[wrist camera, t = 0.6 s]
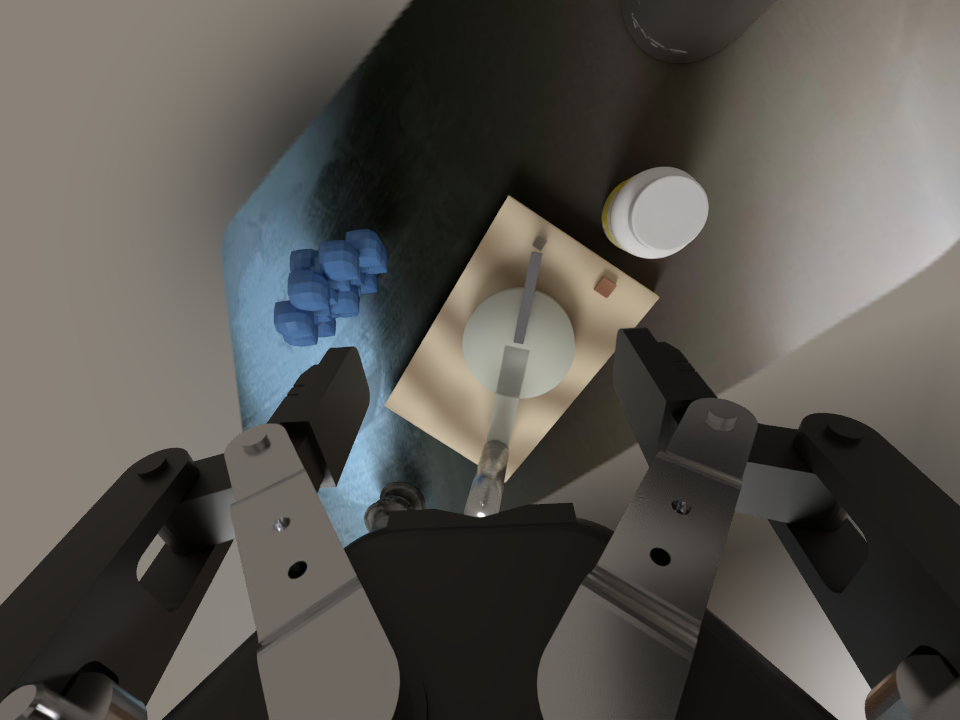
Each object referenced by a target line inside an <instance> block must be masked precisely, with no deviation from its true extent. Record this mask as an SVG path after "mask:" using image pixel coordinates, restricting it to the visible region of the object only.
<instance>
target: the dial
mask: <svg viewBox="0 0 960 720" xmlns="http://www.w3.org/2000/svg"><path fill="white" fill-rule="evenodd" d="M542 254H543V253H537V252H531V257H530V262H529V267H528V272H527V277H526V282H525V286H524V287H513V288H507V289H503V290H500V291H498V292H496V293H494V294H492V295H490V296H489V297H487V298H486V299H485V300H484V301H483V302H482V303H481V304H480V305H479V306H478V307H477V308H476V310H475V311H474V312H473V314H472V315H471V316H470V318H469V320H468V322H467V324H466V327H465V329H464V334H463V341H462V346H463V354H464V358H465V361H466V364H467V366H468V368H469V370H470V372H471V373H472V375H473V376H474V377H475V378H476V380H477V381H478V382H479V383H480V384H482V385H483V386H484V387H485V388H487V389H488V390H490V391H492V392H494V393H496V395H495V400H494V405H493V411H492V416H491V421H490V426H489V431H488V436H487V441H486V444H485V445H484V447H483V450H482V453H481V456H480V460H479V463H478V466H477V470H476V473H475V477H474V480H473V483H472V487H471V490H470V493H469V497H468V500H467V503H466V507H465V510H464V514H465V515H469V516H474V517H484V516H488V515H492V514H495V513H499V508H500V502H501V497H502V491H503V486H504V480H505V475H506V469H507V464H508V458H509V448H508V447H509V443H510V438H511V433H512V429H513V424H514V420H515V415H516V411H517V406H518V402H519V399H524V398H532V397H536V396H539V395H542V394H544V393H546V392H548V391H550V390H551V389H553V388H554V387H556V386H557V385H558V384H559V383H560V382H561V381H562V380H563V379H564V378H565V376H566V375H567V373H568V372H569V370H570V368H571V365H572V362H573V360H574V354H575V338H574V332H573V327H572V324H571V321H570V318H569V316H568V315H567V313H566V311H565V310H564V309H563V307H562V306H561V305H560V304H559V303H558V302H557V301H556V300H555V299H553V298H552V297H551V296H549V295H547V294H546V293H544V292H541V291H539V290H536V289H535V287H536V282H537V277H538V273H539V268H540V263H541V258H542Z"/></svg>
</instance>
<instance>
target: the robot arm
mask: <svg viewBox="0 0 960 720" xmlns="http://www.w3.org/2000/svg"><path fill="white" fill-rule="evenodd" d="M776 1H777V0H620V2H621V9H622V16H623V19H624V22H625V24H626V27H627V30H628V32H629V34H630V35H631V37H632V38H633V40H634V41H635V43H636V44H637V45H638V46H639V47H640V48H641V49H642V50H643V51H644V52H646V53H647V54H648V55H650V56H652V57H654V58H656V59H658V60H661V61H665V62H670V63H690V62H694V61H698V60H702V59H705V58H707V57H709V56H711V55H713V54H715V53H717V52H719V51H721V50H722V49H723V48H725V47H726V46H728V45H729V44H730V43H732V42H733V41H734V40H735V39H736V38H738V37H739V36H740V35H741V34H742V33H743V32H744V31H745V30H746V29H747V28H748V27H749V26H750V25H751V24H752V23H753V22H755V21H756V20H757V19H758V18H759V17H760V16H761V15H762V14H763V13H764V12H766V11H767V10H768V9H769V8H770V7H771V6H772V5H773V4H774V3H775V2H776ZM613 385H614V390H615V393H616V395H617V397H618V399H619V402H620V404H621V406H622V408H623V410H624V413H625V415H626V417H627V419H628V421H629V424H630V426H631V428H632V430H633V432H634V435H635V437H636V439H637V441H638V443H639V446H640V448H641V450H642V452H643V454H644V457H645V459H646V461H647V463H648V465H649V469H648V471H647V473H646V475H645V477H644V479H643V480H642V482H641V484H640V486H639V488H638V489H637V491H636V493H635V495H634V497H633V499H632V501H631V502H630V504H629V506H628V508H627V510H626V512H625V513H624V515H623V517H622V519H621V521H620V523H619V525H618V526H617V528H616V530H615V532H614V531H612V530H610V529H608V528H607V527H605V526H602V525H600V524H597V523H595V522H592V521H588V520H585V519H581V518H576V515H575V511H574V506H573V503H557V504H534V505H525V506H521V507H517V508H514V509H510V510H506V511H503V512H499V513H495V514H492V515H488V516H484V517H474V516H469V515H463V514H458V513H453V512H448V511H442V510H437V509H422V510H399V511H390V514H389V519H388V523H387V526H385V527H382V528H379V529H376V530H374V531H371V532H369V533H367V534H365V535H363V536H361V537H360V538H358V539H356V540H355V541H353V542H352V543H350V544H349V545H348V546H346V547H345V548H344V549H343V547H342V544H341V542H340V540H339V538H338V536H337V534H336V532H335V530H334V528H333V526H332V524H331V522H330V520H329V518H328V516H327V513H326V511H325V509H324V507H323V505H322V503H321V501H320V499H319V497H318V495H317V493H318V490H319V488H326V487H336V486H337V484H338V481H339V479H340V476H341V474H342V471H343V469H344V466H345V464H346V461H347V459H348V456H349V454H350V451H351V449H352V446H353V444H354V441H355V439H356V436H357V434H358V431H359V429H360V426H361V424H362V421H363V419H364V416H365V414H366V411H367V409H368V406H369V400H370V393H369V387H368V383H367V380H366V376H365V373H364V369H363V366H362V363H361V359H360V356H359V353H358V350H357V349H356V348H355V347H340V348H330V349H329V350H328V351H327V352H326V354H325V355H324V357H323V358H322V360H321V361H320V363H319V364H318V365H313V366H312V367H311V368H309V369H308V370H307V371H305V372H304V373H303V374H301V375H300V377H299V378H298V380H297V381H296V383H295V384H294V385H293V386H294V387H293V388H291V390H290V391H289V392H288V394H287V397H285V398H284V400H283V401H282V402H281V404H280V405H279V407H278V408H277V410H276V411H275V412H274V414H273V415H272V417H271V418H270V419H269V421H268V422H267V424H263V425H259V426H255V427H253V428H250V429H248V430H246V431H244V432H242V433H241V434H239V435H238V436H236V437H235V438H234V439H233V440H232V441H231V442H230V443H229V444H228V446H227V447H226V449H225V453H224V454H220V455H216V456H212V457H209V458H205V459H201V460H198V461H193V460H192V458H191V457H190V455H189V454H188V452H187V451H186V450H184V449H182V448H169V449H164V450H161V451H158V452H155V453H153V454H150V455H148V456H146V457H144V458H142V459H141V460H139V461H138V462H136V463H135V464H133V465H132V466H131V467H129V468H128V469H127V470H126V471H125V472H124V473H123V474H122V475H121V477H120V478H119V479H118V480H117V481H116V482H115V483H114V484H113V485H112V486H111V487H110V488H109V490H107V492H106V493H105V494H104V495H103V496H102V497H101V498H100V499H99V500H98V501H97V502H96V504H95V505H93V507H92V508H91V509H90V510H89V511H88V512H87V513H86V514H85V515H84V516H83V517H82V518H81V519H80V521H79V522H78V523H77V524H76V525H75V526H74V527H73V528H72V529H71V530H70V531H69V532H68V533H67V535H66V536H65V537H64V538H63V539H62V540H61V541H60V542H59V543H58V544H57V545H56V546H55V547H54V549H53V550H52V551H51V552H50V553H49V554H48V555H47V556H46V557H45V558H44V559H43V560H42V562H40V564H39V565H38V566H37V567H36V568H35V569H34V570H33V571H32V572H31V573H30V574H29V575H28V576H27V578H26V579H25V580H24V581H23V582H22V583H21V584H20V585H19V586H18V587H17V588H16V589H15V590H14V591H13V593H12V594H11V595H10V596H9V597H8V598H7V599H6V600H5V601H4V602H3V603H2V604H1V606H0V720H147V710H146V705H147V703H148V701H149V700H150V698H151V696H152V694H153V692H154V690H155V688H156V686H157V684H158V683H159V681H160V679H161V677H162V675H163V673H164V671H165V669H166V667H167V665H168V664H169V661H170V660H171V658H172V656H173V654H174V652H175V650H176V648H177V646H178V645H179V643H180V641H181V639H182V637H183V635H184V633H185V631H186V629H187V627H188V625H189V624H190V622H191V620H192V618H193V616H194V614H195V612H196V610H197V608H198V607H199V605H200V603H201V601H202V599H203V597H204V595H205V593H206V591H207V590H208V587H209V586H210V584H211V582H212V580H213V578H214V576H215V574H216V572H217V570H218V569H219V567H220V565H221V563H222V561H223V559H224V557H225V555H226V553H227V551H228V550H229V547H230V546H231V544H232V542H233V540H234V539H235V538H236V540H237V545H238V550H239V554H240V558H241V562H242V567H243V572H244V576H245V581H246V585H247V590H248V594H249V598H250V603H251V608H252V612H253V617H254V621H255V626H256V631H255V632H254V633H253V634H252V635H251V636H250V637H249V638H248V639H247V640H246V641H245V642H243V643H242V645H240V646H239V647H238V648H237V649H236V650H235V651H234V652H233V653H232V654H231V655H230V656H229V657H228V658H227V659H225V660H224V661H223V662H222V663H221V664H220V665H219V666H218V667H217V668H216V669H215V670H214V671H213V672H212V673H211V674H210V675H209V676H207V677H206V678H205V679H204V680H203V681H202V682H201V683H200V684H199V685H198V686H197V687H196V688H195V689H194V690H193V691H192V692H191V693H189V694H188V695H187V696H186V697H185V698H184V699H183V700H182V701H181V702H180V703H179V704H178V705H177V706H176V707H175V708H174V709H173V710H171V712H169V713H168V714H167V715H166V716H165V717H164V718H163V719H162V720H838V719H837V718H835V717H834V716H833V715H832V714H831V713H830V712H828V711H827V710H826V709H825V708H824V707H822V706H821V705H820V704H819V703H818V702H817V701H815V700H814V699H813V698H812V697H811V696H810V695H808V694H807V693H806V692H805V691H804V690H803V689H801V688H800V687H799V686H798V685H797V684H795V683H794V682H793V681H792V680H791V679H790V678H789V677H787V676H786V675H785V674H784V673H783V672H781V671H780V670H779V669H778V668H777V667H775V666H774V665H773V664H772V663H771V662H770V661H769V660H767V659H766V658H765V657H764V656H763V655H762V654H760V653H759V652H758V651H757V650H756V649H755V648H753V647H752V646H751V645H750V644H749V643H747V642H746V641H745V640H744V639H743V638H742V637H740V636H739V635H738V634H737V633H736V632H734V631H733V630H732V629H731V628H730V627H729V626H728V625H726V624H725V623H724V622H723V621H722V620H721V619H719V618H718V617H717V616H716V615H714V614H713V613H712V612H711V611H710V610H709V609H708V608H706V606H707V603H708V599H709V596H710V592H711V589H712V586H713V582H714V579H715V576H716V572H717V569H718V565H719V562H720V559H721V555H722V552H723V548H724V545H725V542H726V538H727V535H728V531H729V528H730V525H731V521H732V518H733V514H734V511H735V512H739V513H744V514H749V515H754V516H758V517H762V518H767V519H768V521H769V522H770V524H771V526H772V527H773V529H774V531H775V532H776V534H777V535H778V537H779V539H780V540H781V542H782V544H783V545H784V547H785V549H786V550H787V552H788V553H789V555H790V557H791V558H792V560H793V562H794V563H795V565H796V566H797V568H798V570H799V572H800V573H801V575H802V576H803V578H804V580H805V581H806V583H807V584H808V586H809V588H810V590H811V591H812V593H813V594H814V596H815V598H816V599H817V601H818V603H819V604H820V606H821V608H822V609H823V611H824V612H825V614H826V616H827V617H828V619H829V621H830V622H831V624H832V625H833V627H834V629H835V630H836V632H837V634H838V635H839V637H840V639H841V640H842V642H843V644H844V645H845V647H846V649H847V650H848V652H849V653H850V655H851V657H852V658H853V660H854V662H855V663H856V665H857V667H858V668H859V670H860V671H861V673H862V675H863V676H864V678H865V680H866V681H867V683H868V684H869V686H870V688H871V691H870V692H869V694H868V695H867V698H866V700H865V715H866V719H867V720H960V506H959V505H958V504H957V503H956V502H954V501H953V500H952V499H951V498H950V497H949V496H948V495H947V494H946V493H945V492H943V491H942V490H941V489H940V488H939V487H938V486H937V485H936V484H935V483H934V482H932V481H931V480H930V479H929V478H928V477H927V476H926V475H925V474H924V473H922V472H921V471H920V470H919V469H918V468H917V467H916V466H915V465H914V464H912V463H911V462H910V461H909V460H908V459H907V458H906V457H904V455H902V454H901V453H900V452H899V451H898V450H897V449H896V448H895V447H894V446H892V445H891V444H890V443H889V442H888V441H887V440H886V439H885V438H883V437H882V436H881V435H880V434H879V433H878V432H876V431H875V430H874V429H872V428H870V427H869V426H867V425H865V424H863V423H861V422H859V421H857V420H854V419H852V418H849V417H845V416H842V415H837V414H829V413H815V414H810V415H808V416H806V417H805V418H804V419H803V420H802V422H801V424H800V426H799V429H798V430H797V429H790V428H783V427H777V426H769V425H764V424H759V423H757V420H756V418H755V417H754V415H753V414H752V413H751V412H750V411H749V410H747V409H746V408H744V407H742V406H741V405H738V404H736V403H734V402H731V401H728V400H724V399H719V398H717V397H716V395H715V394H714V393H713V392H712V390H711V389H710V388H709V387H708V385H707V384H706V383H705V382H704V380H703V379H702V378H701V377H700V375H699V374H698V373H697V372H695V369H694V368H693V367H692V365H691V364H690V363H688V360H687V359H686V358H685V357H684V355H683V354H682V353H681V352H680V350H678V349H676V348H675V347H673V346H671V345H670V344H668V343H666V342H657V341H656V340H655V338H654V337H653V335H652V334H651V333H650V331H649V330H648V329H647V328H646V327H636V328H621V329H619V330H618V332H617V337H616V346H615V356H614V365H613ZM848 515H849V516H850V517H851V518H852V520H853V521H854V522H855V523H856V524H857V526H858V527H859V528H860V530H861V531H862V532H863V534H864V536H865V538H866V541H867V542H866V541H865V539H864V538H863V537H862V536H861V534H860V533H859V532H858V531H857V529H856V528H855V527H854V526H853V524H852V523H851V522H850V521H849V520H848V518H847V516H848ZM157 534H159V536H160V537H161V538H162V539H163V540H164V542H165V545H164V546H163V548H162V549H161V551H160V552H159V553H158V555H157V556H156V558H155V559H154V561H153V562H152V564H151V565H150V567H149V568H148V570H147V571H146V573H145V574H144V576H143V577H142V578H141V580H140V581H138V579H137V575H136V570H137V565H138V562H139V560H140V558H141V556H142V554H143V553H144V552H145V550H146V549H147V547H148V546H149V545H150V543H151V542H152V541H153V539H154V538H155V536H156V535H157Z"/></svg>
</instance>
